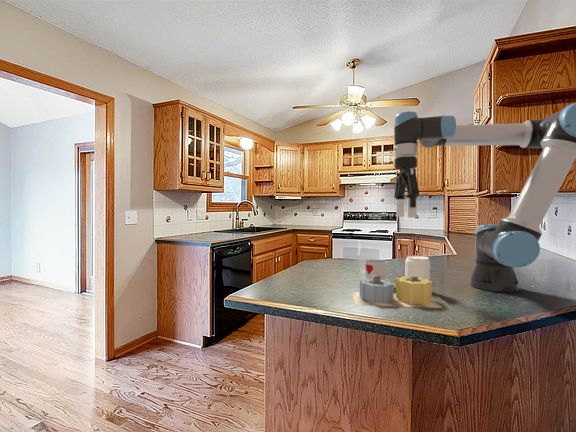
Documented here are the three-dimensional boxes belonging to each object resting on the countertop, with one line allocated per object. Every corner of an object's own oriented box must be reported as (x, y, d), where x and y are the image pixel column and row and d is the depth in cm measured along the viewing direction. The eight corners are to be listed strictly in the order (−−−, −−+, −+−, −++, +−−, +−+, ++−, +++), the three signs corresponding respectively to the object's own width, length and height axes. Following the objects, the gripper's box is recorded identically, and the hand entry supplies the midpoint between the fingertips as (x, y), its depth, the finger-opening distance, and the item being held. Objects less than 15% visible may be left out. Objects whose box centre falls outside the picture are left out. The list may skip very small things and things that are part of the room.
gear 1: (388, 294, 99) (388, 279, 99) (396, 303, 90) (396, 286, 90) (358, 293, 100) (358, 278, 100) (362, 302, 91) (362, 285, 91)
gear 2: (424, 295, 98) (424, 276, 98) (435, 305, 89) (436, 284, 88) (393, 294, 99) (393, 276, 99) (401, 303, 90) (401, 283, 89)
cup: (361, 286, 116) (361, 259, 116) (382, 285, 117) (382, 259, 117) (368, 291, 108) (369, 263, 108) (391, 291, 109) (391, 263, 109)
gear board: (425, 298, 100) (426, 272, 100) (442, 313, 86) (443, 282, 86) (350, 296, 103) (351, 270, 103) (355, 309, 89) (355, 280, 89)
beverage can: (432, 295, 104) (433, 259, 104) (407, 293, 106) (407, 258, 106) (426, 288, 112) (427, 256, 112) (403, 287, 114) (403, 255, 114)
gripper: (386, 162, 122) (386, 216, 123) (405, 151, 98) (405, 218, 98) (405, 162, 122) (405, 216, 122) (430, 150, 97) (430, 217, 97)
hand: (405, 217), depth 110 cm, fingers open, 13 cm apart
